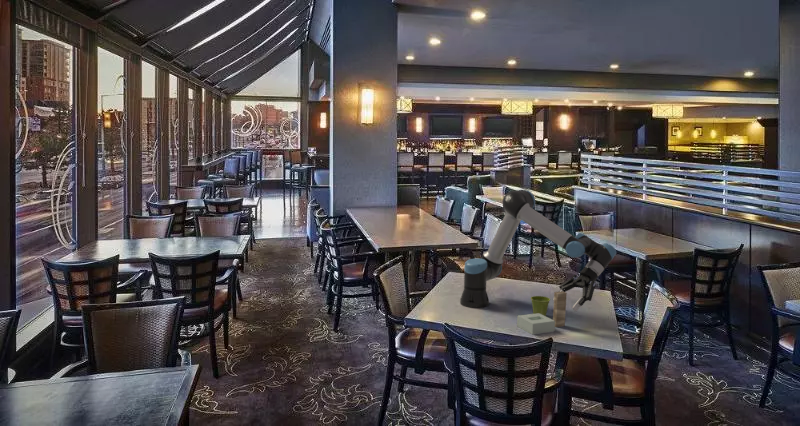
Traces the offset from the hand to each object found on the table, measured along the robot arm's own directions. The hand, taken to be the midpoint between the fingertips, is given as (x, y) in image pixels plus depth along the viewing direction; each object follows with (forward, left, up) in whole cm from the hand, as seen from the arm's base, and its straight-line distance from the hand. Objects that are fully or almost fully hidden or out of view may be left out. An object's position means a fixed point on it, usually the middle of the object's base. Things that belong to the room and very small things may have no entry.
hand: (564, 305), depth 249 cm
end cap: (-1, -15, -10) cm, 18 cm away
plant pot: (-17, -1, -10) cm, 20 cm away
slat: (-1, -2, -10) cm, 10 cm away
